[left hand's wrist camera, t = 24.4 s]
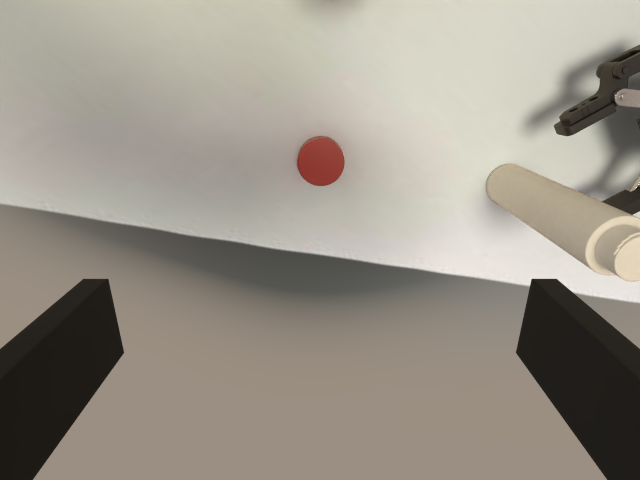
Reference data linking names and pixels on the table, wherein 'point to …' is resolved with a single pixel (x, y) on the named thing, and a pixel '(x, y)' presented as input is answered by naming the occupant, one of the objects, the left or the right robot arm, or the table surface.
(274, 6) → the table surface
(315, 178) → the lid
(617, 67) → the right robot arm
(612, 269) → the white cylindrical bottle
